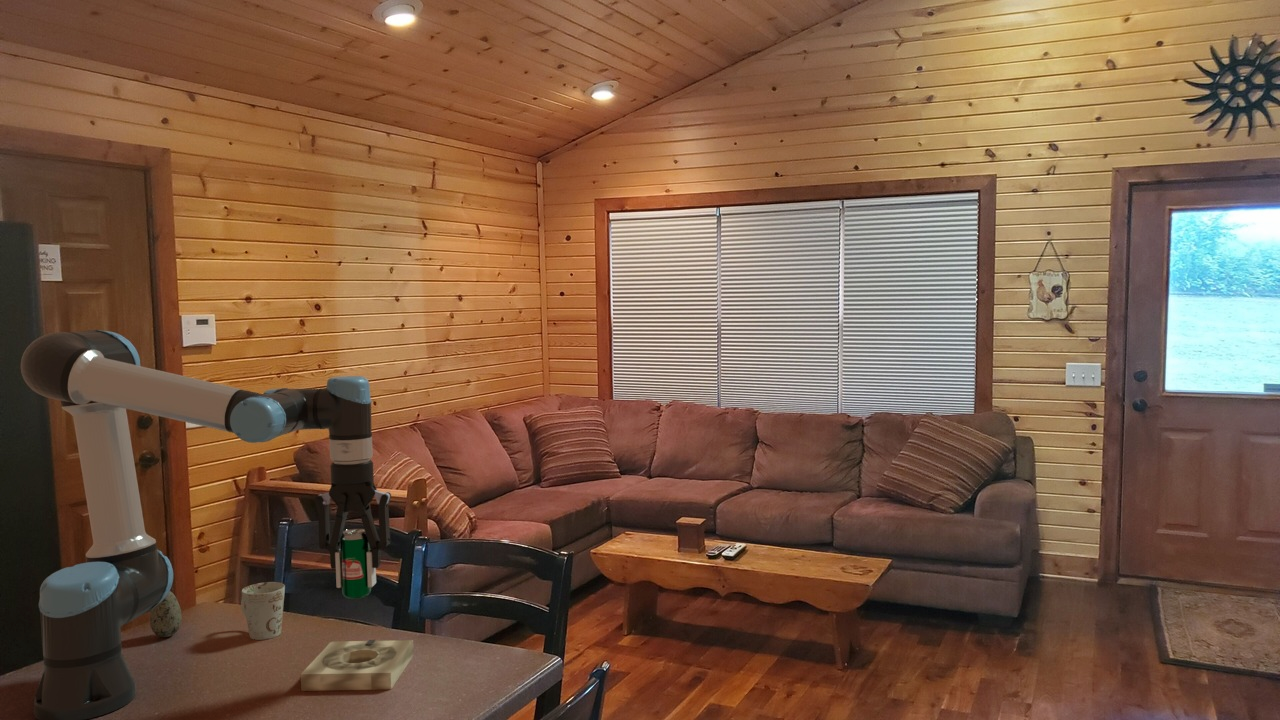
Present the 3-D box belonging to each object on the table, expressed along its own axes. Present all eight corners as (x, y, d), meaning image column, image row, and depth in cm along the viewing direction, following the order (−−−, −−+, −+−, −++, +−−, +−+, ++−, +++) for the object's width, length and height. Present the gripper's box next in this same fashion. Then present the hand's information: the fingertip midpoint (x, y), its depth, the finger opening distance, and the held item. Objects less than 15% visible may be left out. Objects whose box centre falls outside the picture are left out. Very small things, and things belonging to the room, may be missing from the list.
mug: (260, 645, 188) (257, 596, 188) (223, 634, 195) (221, 587, 195) (295, 632, 195) (293, 585, 195) (258, 622, 202) (256, 577, 201)
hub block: (301, 690, 165) (300, 673, 165) (331, 656, 181) (331, 640, 181) (391, 689, 165) (390, 671, 165) (413, 655, 181) (413, 639, 181)
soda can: (337, 599, 170) (334, 534, 169) (351, 590, 175) (348, 527, 174) (362, 600, 169) (360, 535, 168) (376, 591, 174) (373, 528, 173)
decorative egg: (168, 630, 198) (165, 584, 198) (189, 633, 196) (186, 586, 195) (144, 639, 193) (141, 592, 192) (165, 643, 190) (162, 595, 190)
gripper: (294, 465, 167) (300, 592, 168) (395, 463, 167) (400, 590, 168) (309, 458, 174) (314, 580, 176) (406, 456, 174) (410, 578, 176)
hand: (356, 585), depth 172 cm, fingers closed on soda can, 5 cm apart
